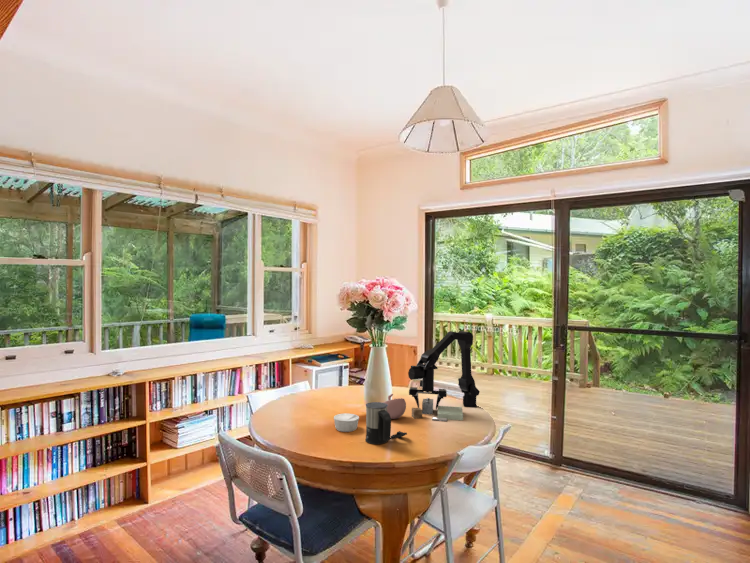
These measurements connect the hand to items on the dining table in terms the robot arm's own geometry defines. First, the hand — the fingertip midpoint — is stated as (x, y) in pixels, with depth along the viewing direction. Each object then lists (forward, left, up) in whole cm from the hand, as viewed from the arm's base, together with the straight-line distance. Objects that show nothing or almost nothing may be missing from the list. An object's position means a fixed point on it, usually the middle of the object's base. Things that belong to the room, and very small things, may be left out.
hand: (427, 409), depth 225 cm
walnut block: (+5, +10, -2) cm, 11 cm away
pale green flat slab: (-11, +4, -1) cm, 12 cm away
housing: (0, 0, -2) cm, 2 cm away
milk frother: (+16, +44, -2) cm, 47 cm away
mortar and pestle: (+16, +14, -2) cm, 21 cm away
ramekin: (+35, +33, -2) cm, 48 cm away
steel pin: (-6, +13, -2) cm, 14 cm away
